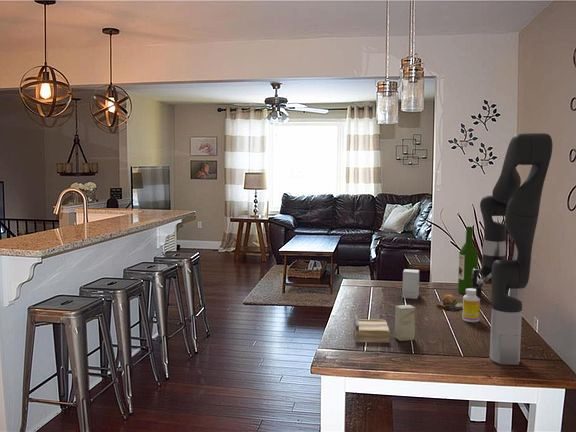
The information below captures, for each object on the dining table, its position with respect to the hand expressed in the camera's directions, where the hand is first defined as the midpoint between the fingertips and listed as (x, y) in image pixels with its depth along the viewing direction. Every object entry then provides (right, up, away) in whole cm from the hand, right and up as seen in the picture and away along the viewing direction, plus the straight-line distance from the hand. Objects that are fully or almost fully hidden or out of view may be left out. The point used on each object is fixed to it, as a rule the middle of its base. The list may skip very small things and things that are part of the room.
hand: (491, 298), depth 192 cm
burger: (+1, -12, +52) cm, 54 cm away
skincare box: (-29, -17, +10) cm, 34 cm away
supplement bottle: (+3, -14, +32) cm, 35 cm away
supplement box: (-13, -10, +70) cm, 72 cm away
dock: (-40, -16, +13) cm, 45 cm away
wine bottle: (+17, -9, +78) cm, 80 cm away
